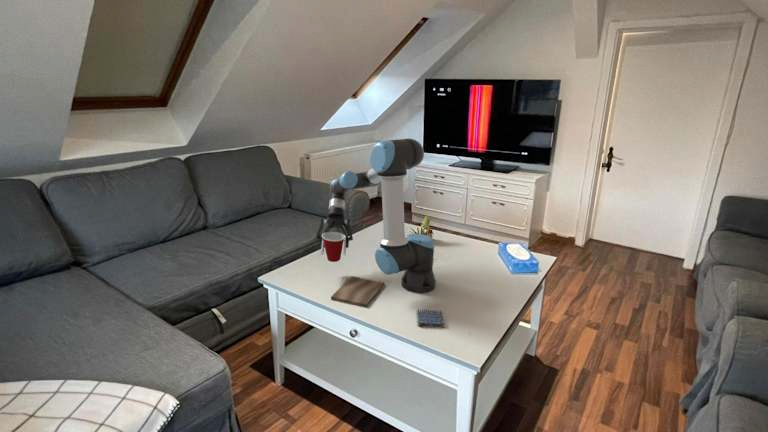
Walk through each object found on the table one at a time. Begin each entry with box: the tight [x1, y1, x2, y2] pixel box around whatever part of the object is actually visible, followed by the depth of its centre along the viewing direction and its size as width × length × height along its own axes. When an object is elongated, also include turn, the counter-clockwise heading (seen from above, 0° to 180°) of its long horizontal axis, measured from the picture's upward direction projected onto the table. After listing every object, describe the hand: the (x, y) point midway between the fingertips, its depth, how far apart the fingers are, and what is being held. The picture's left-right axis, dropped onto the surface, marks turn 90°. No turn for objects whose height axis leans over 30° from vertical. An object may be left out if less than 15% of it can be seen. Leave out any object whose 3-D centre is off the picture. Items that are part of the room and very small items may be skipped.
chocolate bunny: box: [419, 215, 434, 239], centre depth 229 cm, size 7×11×15 cm, turn 143°
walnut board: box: [330, 276, 385, 308], centre depth 177 cm, size 16×20×1 cm
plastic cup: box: [321, 231, 346, 263], centre depth 188 cm, size 11×11×12 cm
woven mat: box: [416, 309, 446, 328], centre depth 158 cm, size 10×11×2 cm
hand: (333, 253), depth 186 cm, fingers closed on plastic cup, 9 cm apart
